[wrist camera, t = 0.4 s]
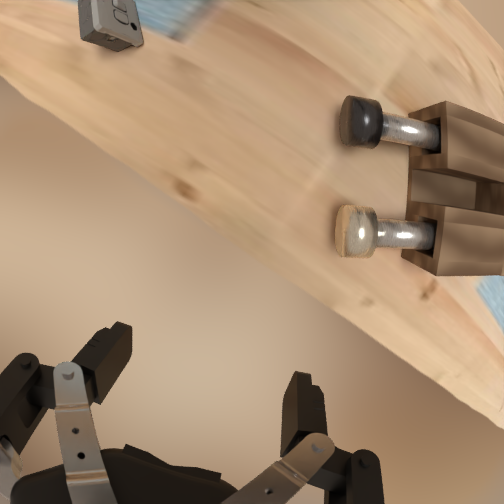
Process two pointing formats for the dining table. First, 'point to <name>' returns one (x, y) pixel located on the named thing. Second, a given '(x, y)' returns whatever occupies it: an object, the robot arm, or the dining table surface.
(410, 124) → the black knob
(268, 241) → the dining table surface
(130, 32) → the electrical switch
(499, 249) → the walnut mount
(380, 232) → the silver knob
